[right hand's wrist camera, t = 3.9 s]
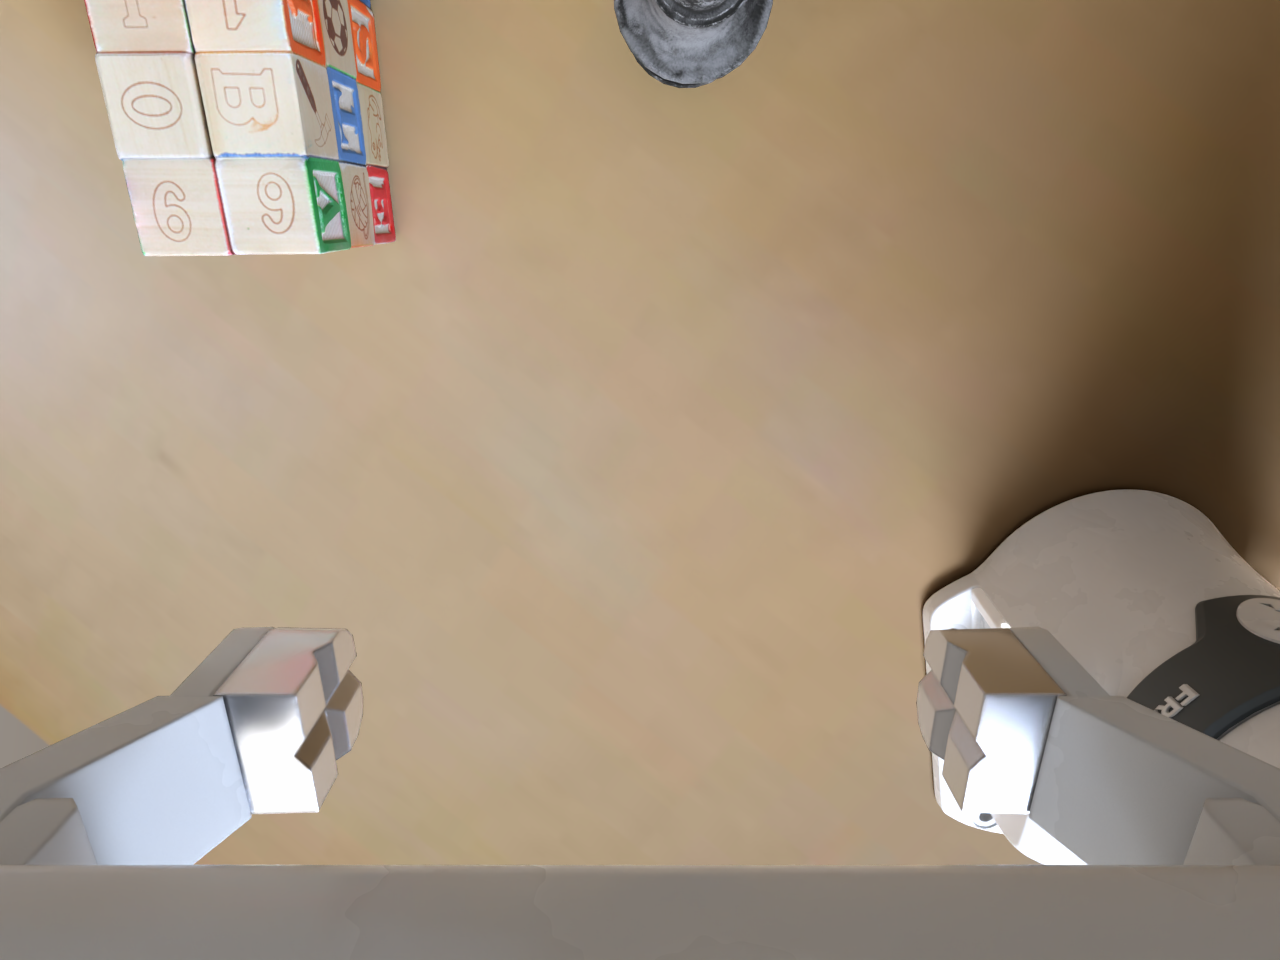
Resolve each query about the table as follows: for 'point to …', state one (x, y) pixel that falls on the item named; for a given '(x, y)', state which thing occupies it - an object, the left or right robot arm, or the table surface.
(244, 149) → the stack of blocks
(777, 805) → the table surface
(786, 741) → the table surface
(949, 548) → the table surface
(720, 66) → the grey chess piece
